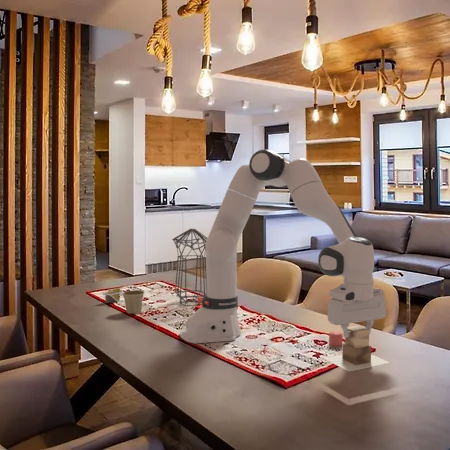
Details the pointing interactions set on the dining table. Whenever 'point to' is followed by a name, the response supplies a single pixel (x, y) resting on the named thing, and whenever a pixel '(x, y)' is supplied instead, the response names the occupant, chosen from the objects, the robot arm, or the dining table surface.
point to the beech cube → (358, 337)
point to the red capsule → (335, 339)
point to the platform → (112, 295)
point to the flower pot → (133, 301)
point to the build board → (351, 367)
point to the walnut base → (356, 354)
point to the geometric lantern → (185, 263)
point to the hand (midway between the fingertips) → (357, 335)
